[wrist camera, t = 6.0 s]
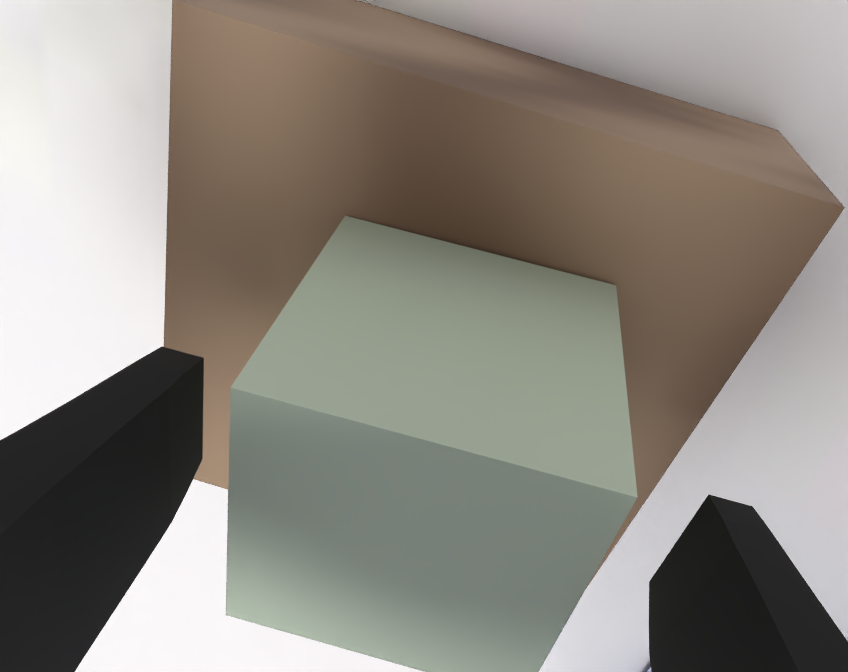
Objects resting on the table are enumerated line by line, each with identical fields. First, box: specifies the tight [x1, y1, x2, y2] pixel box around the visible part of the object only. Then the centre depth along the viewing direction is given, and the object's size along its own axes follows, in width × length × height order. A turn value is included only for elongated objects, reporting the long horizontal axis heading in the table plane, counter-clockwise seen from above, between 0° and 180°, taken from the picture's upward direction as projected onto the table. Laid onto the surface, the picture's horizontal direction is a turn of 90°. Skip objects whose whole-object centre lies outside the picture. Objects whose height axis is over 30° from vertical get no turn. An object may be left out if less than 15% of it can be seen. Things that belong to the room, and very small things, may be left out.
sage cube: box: [226, 216, 638, 672], centre depth 10 cm, size 4×4×4 cm
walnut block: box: [164, 0, 845, 588], centre depth 14 cm, size 10×10×4 cm
